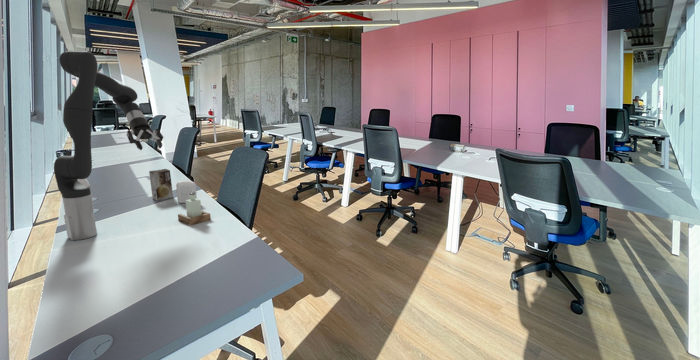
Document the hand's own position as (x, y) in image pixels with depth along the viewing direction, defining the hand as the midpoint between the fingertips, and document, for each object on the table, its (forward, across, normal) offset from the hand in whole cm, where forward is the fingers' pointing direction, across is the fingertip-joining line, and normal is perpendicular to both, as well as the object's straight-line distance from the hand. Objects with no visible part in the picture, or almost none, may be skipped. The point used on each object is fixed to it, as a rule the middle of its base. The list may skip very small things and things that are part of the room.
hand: (151, 148), depth 166 cm
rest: (+36, +8, +11) cm, 39 cm away
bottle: (+36, +8, +10) cm, 38 cm away
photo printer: (+14, +21, +32) cm, 41 cm away
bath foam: (-8, -17, +55) cm, 58 cm away
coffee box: (0, +17, +46) cm, 49 cm away
